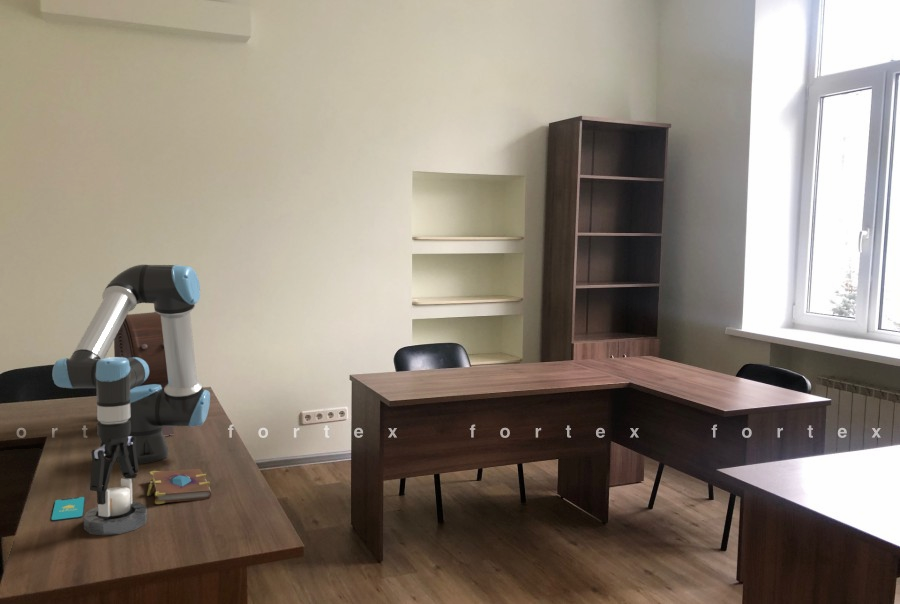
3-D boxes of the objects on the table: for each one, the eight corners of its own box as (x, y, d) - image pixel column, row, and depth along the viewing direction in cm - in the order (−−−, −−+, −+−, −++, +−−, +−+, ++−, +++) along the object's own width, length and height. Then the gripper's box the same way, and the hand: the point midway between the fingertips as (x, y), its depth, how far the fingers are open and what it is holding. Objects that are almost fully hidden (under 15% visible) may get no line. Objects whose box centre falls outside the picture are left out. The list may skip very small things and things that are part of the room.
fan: (186, 437, 258) (185, 316, 254) (132, 444, 248) (130, 318, 244) (161, 412, 292) (159, 305, 288) (112, 418, 282) (110, 307, 278)
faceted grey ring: (110, 510, 190) (110, 499, 189) (157, 516, 187) (157, 504, 187) (71, 531, 176) (71, 519, 176) (122, 537, 173) (122, 525, 173)
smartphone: (50, 519, 182) (55, 499, 195) (50, 523, 182) (55, 502, 195) (83, 516, 185) (85, 496, 198) (83, 519, 185) (85, 499, 198)
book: (200, 475, 222) (201, 459, 222) (212, 503, 200) (213, 485, 200) (143, 479, 215) (143, 463, 215) (148, 508, 193) (149, 490, 193)
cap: (114, 503, 186) (114, 484, 185) (137, 506, 184) (137, 487, 184) (93, 515, 178) (93, 495, 178) (117, 518, 177) (116, 498, 176)
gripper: (127, 409, 190) (129, 493, 192) (70, 429, 170) (73, 523, 172) (153, 411, 188) (154, 496, 190) (98, 432, 168) (100, 527, 170)
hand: (115, 509), depth 181 cm, fingers closed on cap, 8 cm apart
